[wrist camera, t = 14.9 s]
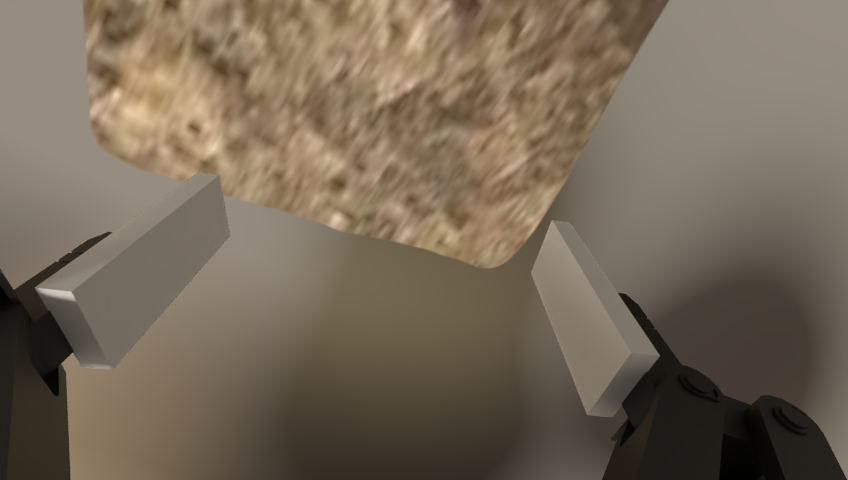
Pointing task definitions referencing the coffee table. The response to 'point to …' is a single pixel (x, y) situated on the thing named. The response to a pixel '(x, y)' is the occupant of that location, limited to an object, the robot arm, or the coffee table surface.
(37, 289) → the robot arm
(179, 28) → the coffee table surface
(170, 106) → the coffee table surface
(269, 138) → the coffee table surface
